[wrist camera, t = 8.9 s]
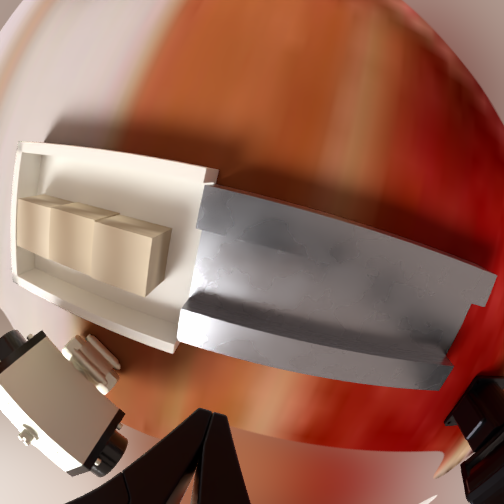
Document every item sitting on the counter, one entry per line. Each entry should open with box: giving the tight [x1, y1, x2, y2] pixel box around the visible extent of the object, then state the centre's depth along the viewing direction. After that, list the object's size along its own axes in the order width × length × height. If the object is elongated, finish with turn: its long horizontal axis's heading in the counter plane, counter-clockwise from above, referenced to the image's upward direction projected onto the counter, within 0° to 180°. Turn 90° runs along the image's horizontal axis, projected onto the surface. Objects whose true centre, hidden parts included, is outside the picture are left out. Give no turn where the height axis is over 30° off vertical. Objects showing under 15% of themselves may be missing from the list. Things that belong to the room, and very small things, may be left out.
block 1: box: [17, 194, 75, 260], centre depth 17 cm, size 4×4×3 cm
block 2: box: [49, 202, 120, 276], centre depth 17 cm, size 4×4×3 cm
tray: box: [11, 141, 219, 354], centre depth 17 cm, size 16×12×3 cm
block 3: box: [91, 215, 172, 297], centre depth 17 cm, size 4×4×3 cm
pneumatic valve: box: [0, 330, 128, 477], centre depth 16 cm, size 6×12×12 cm, turn 45°
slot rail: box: [177, 184, 497, 391], centre depth 17 cm, size 20×10×3 cm, turn 76°
